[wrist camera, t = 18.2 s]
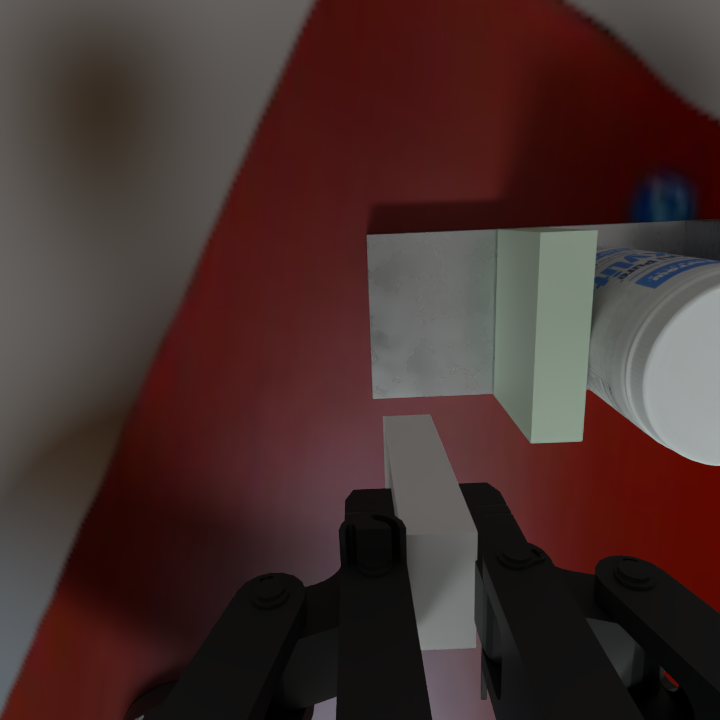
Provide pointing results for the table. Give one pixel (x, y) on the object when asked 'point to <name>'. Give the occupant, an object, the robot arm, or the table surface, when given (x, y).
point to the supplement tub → (659, 346)
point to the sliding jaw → (544, 329)
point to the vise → (470, 300)
